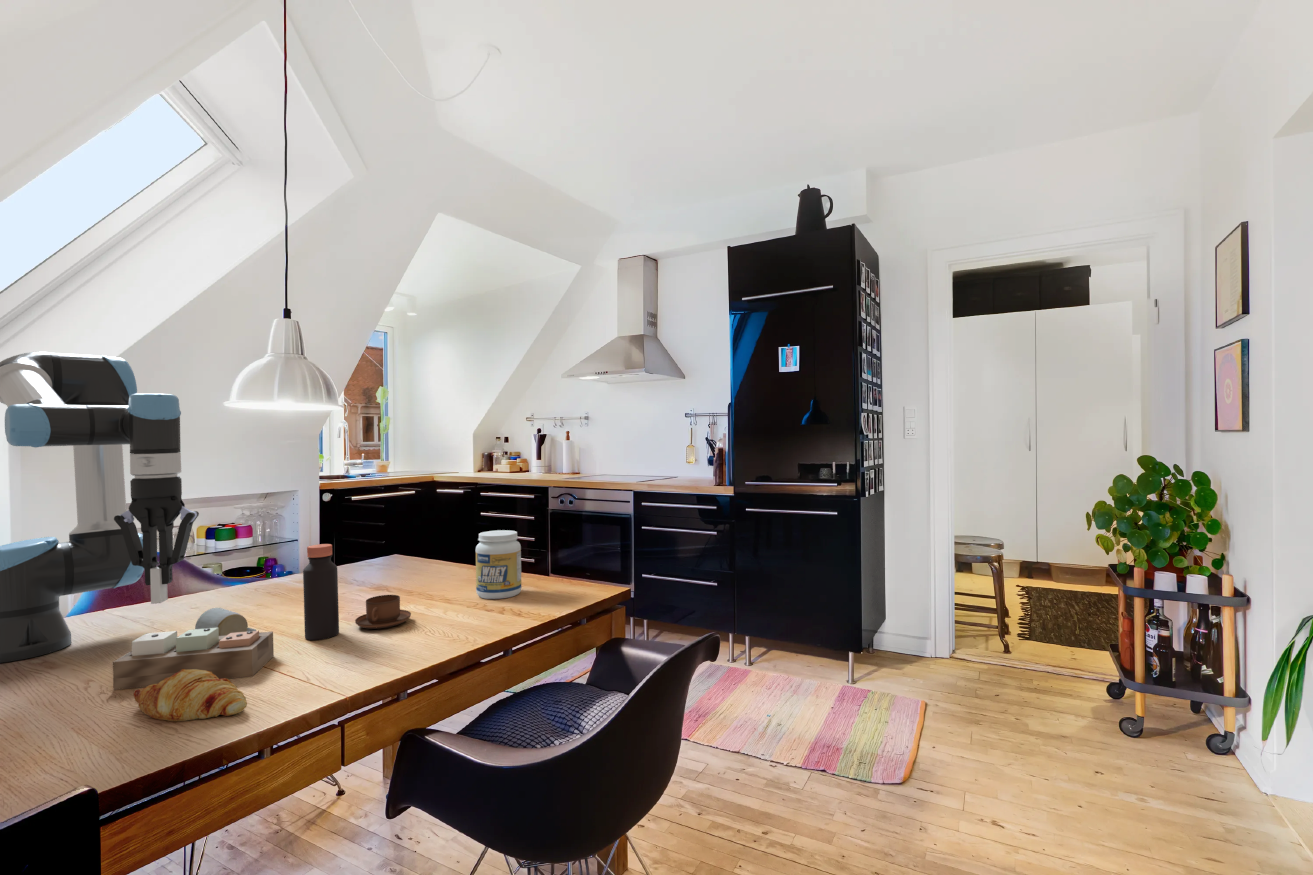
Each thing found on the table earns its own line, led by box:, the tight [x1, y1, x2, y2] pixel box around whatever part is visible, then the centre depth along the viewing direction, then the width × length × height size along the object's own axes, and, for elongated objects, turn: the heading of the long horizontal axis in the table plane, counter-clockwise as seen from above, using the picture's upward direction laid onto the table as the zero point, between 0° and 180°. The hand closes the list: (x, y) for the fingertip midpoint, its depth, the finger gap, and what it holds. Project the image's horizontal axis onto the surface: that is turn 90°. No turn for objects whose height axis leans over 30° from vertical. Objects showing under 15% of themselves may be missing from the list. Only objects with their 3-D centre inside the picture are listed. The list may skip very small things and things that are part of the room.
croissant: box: [133, 669, 248, 722], centre depth 103 cm, size 21×10×8 cm, turn 79°
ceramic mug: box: [194, 607, 257, 636], centre depth 138 cm, size 10×8×7 cm
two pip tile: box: [176, 628, 219, 652], centre depth 120 cm, size 5×5×4 cm
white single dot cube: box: [131, 630, 178, 656], centre depth 118 cm, size 5×5×4 cm
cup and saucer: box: [354, 594, 412, 630], centre depth 148 cm, size 12×12×6 cm
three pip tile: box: [219, 630, 260, 648], centre depth 122 cm, size 5×5×4 cm
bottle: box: [302, 543, 340, 641], centre depth 140 cm, size 7×7×20 cm
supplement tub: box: [474, 529, 522, 600], centre depth 174 cm, size 12×12×17 cm
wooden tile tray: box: [112, 631, 275, 691], centre depth 120 cm, size 22×11×5 cm, turn 103°
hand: (159, 601), depth 119 cm, fingers closed
